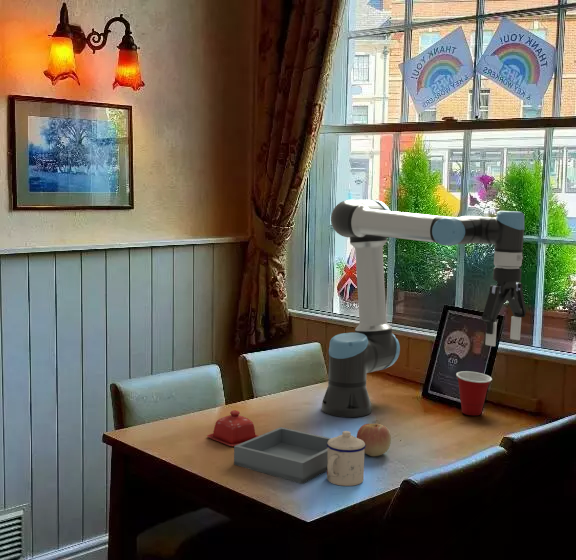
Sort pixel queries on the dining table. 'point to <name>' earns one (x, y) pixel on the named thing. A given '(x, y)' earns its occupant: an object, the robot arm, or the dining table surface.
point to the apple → (374, 438)
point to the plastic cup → (472, 391)
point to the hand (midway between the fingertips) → (502, 342)
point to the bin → (284, 454)
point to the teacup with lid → (345, 460)
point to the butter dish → (233, 429)
